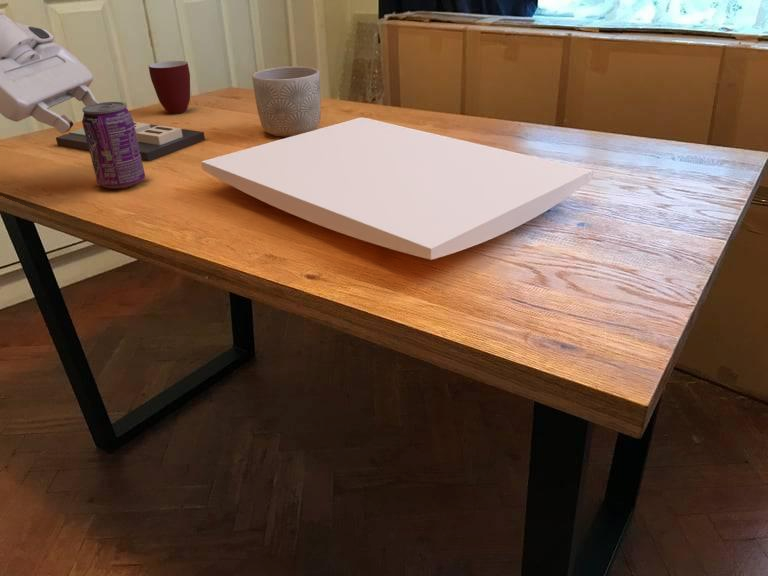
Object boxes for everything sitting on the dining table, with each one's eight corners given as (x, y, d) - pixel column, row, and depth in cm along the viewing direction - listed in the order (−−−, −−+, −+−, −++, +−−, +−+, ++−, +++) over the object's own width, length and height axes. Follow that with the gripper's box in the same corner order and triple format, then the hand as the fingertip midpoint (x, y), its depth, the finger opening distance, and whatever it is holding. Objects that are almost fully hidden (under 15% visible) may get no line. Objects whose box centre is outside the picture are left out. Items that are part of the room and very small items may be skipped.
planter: (272, 122, 133) (266, 66, 128) (331, 123, 131) (327, 66, 125) (249, 139, 123) (241, 79, 117) (313, 141, 120) (307, 80, 115)
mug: (161, 106, 149) (152, 60, 144) (198, 103, 150) (190, 57, 145) (155, 117, 140) (145, 69, 135) (194, 114, 141) (186, 66, 136)
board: (589, 203, 90) (593, 170, 87) (431, 288, 70) (431, 248, 68) (363, 143, 118) (361, 117, 116) (206, 191, 99) (201, 161, 96)
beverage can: (105, 177, 106) (87, 102, 100) (150, 174, 107) (134, 99, 101) (92, 193, 100) (72, 113, 94) (140, 190, 100) (122, 110, 95)
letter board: (57, 145, 124) (52, 128, 122) (117, 126, 134) (113, 110, 133) (148, 161, 113) (144, 142, 112) (205, 139, 124) (202, 122, 122)
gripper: (-35, 48, 84) (58, 123, 88) (51, 27, 102) (125, 90, 106) (-55, 84, 87) (36, 156, 91) (33, 58, 105) (106, 118, 109)
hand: (85, 120), depth 98 cm, fingers open, 8 cm apart
